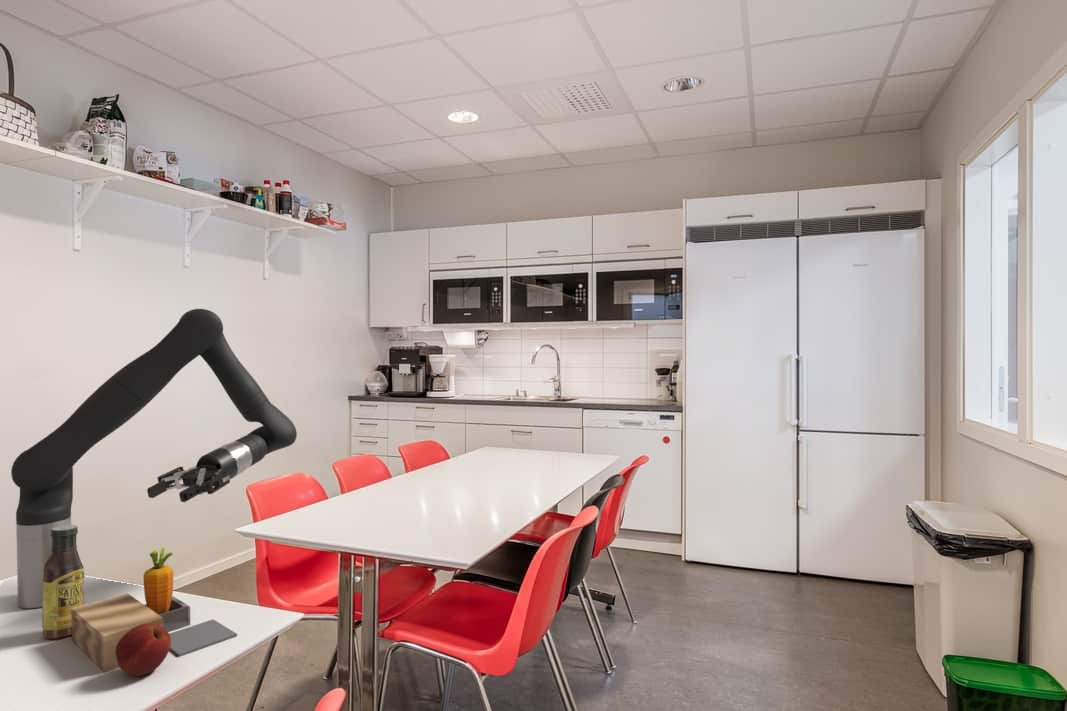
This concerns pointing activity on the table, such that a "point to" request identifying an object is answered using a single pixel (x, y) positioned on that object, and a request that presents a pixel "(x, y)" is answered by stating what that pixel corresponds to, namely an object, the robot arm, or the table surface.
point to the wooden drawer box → (118, 625)
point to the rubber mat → (199, 637)
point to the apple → (143, 649)
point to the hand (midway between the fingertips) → (165, 495)
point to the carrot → (159, 584)
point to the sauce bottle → (62, 583)
